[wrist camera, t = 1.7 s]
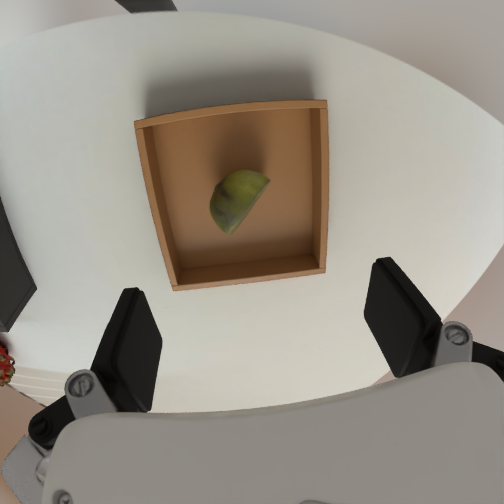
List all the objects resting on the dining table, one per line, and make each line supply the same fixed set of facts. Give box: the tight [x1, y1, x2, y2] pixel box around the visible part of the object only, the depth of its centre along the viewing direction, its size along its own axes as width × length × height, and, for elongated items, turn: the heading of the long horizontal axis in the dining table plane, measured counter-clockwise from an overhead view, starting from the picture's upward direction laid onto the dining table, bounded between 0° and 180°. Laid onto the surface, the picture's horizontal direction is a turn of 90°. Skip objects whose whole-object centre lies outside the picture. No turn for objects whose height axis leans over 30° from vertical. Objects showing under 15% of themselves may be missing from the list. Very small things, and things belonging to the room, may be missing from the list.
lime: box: [209, 169, 271, 235], centre depth 20 cm, size 4×5×5 cm
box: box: [134, 100, 329, 291], centre depth 21 cm, size 14×13×3 cm
